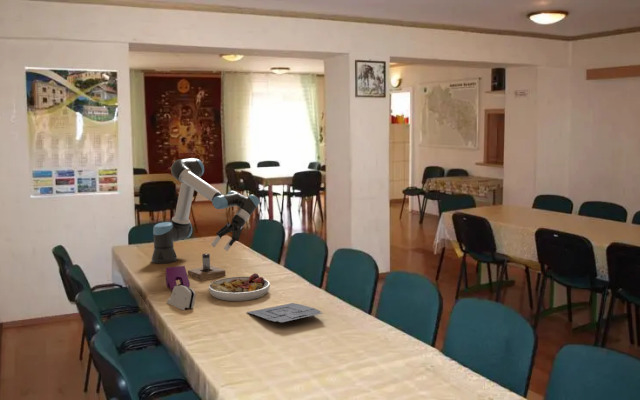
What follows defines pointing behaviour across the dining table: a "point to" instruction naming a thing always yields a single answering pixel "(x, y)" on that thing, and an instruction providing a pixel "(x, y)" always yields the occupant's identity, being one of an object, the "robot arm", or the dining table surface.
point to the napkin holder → (182, 297)
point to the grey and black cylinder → (206, 262)
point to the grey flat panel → (286, 312)
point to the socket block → (206, 273)
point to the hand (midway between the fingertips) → (219, 247)
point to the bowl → (239, 288)
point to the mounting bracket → (176, 276)
